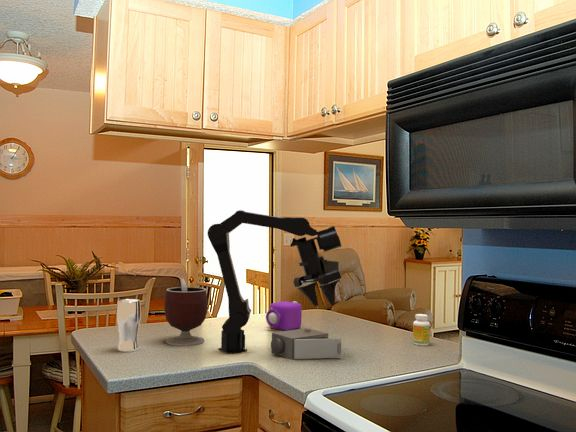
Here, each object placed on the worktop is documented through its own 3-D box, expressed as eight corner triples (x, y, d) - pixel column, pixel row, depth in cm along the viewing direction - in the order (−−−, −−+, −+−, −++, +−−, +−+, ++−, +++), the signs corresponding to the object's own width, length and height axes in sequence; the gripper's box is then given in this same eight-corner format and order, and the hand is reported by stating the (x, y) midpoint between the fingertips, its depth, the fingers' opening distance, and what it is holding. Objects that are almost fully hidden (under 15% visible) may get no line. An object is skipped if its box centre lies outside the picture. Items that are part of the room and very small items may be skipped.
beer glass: (130, 353, 166) (131, 302, 166) (111, 351, 168) (112, 301, 168) (144, 348, 172) (145, 299, 172) (125, 346, 174) (126, 298, 175)
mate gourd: (210, 345, 179) (212, 282, 179) (166, 347, 174) (168, 283, 174) (201, 335, 193) (202, 277, 194) (160, 337, 189) (161, 278, 189)
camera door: (295, 359, 161) (295, 340, 161) (293, 358, 162) (294, 339, 162) (341, 357, 164) (342, 339, 164) (340, 356, 165) (340, 338, 165)
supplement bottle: (424, 346, 183) (424, 316, 183) (409, 343, 186) (410, 314, 186) (432, 344, 187) (432, 315, 187) (418, 341, 190) (418, 313, 190)
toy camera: (260, 330, 204) (261, 303, 204) (278, 324, 216) (279, 298, 216) (287, 333, 199) (287, 305, 199) (303, 327, 211) (304, 301, 211)
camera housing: (286, 360, 161) (286, 336, 161) (266, 353, 169) (266, 330, 169) (327, 353, 171) (328, 330, 171) (307, 346, 179) (307, 325, 179)
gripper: (347, 245, 168) (362, 295, 167) (314, 252, 184) (328, 298, 183) (318, 256, 162) (333, 308, 162) (286, 262, 178) (300, 309, 178)
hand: (324, 305), depth 171 cm, fingers open, 9 cm apart
